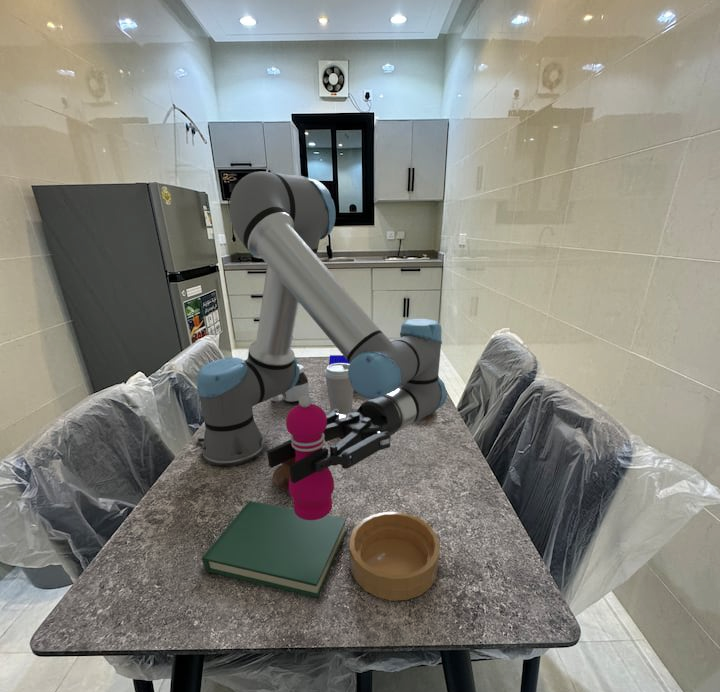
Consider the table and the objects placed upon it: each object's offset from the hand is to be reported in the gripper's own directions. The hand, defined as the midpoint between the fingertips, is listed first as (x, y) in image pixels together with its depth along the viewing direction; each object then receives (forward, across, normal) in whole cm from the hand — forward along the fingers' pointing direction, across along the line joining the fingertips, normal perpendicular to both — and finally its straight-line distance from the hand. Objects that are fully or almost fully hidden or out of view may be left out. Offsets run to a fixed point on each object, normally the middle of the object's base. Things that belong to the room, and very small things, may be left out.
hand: (280, 466), depth 55 cm
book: (-1, +5, -21) cm, 21 cm away
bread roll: (-63, +21, -21) cm, 70 cm away
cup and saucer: (-17, +19, -21) cm, 33 cm away
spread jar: (-42, +58, -21) cm, 75 cm away
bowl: (-13, -11, -21) cm, 27 cm away
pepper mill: (-5, 0, -11) cm, 12 cm away
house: (-67, +50, -21) cm, 86 cm away
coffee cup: (-47, +38, -21) cm, 64 cm away
